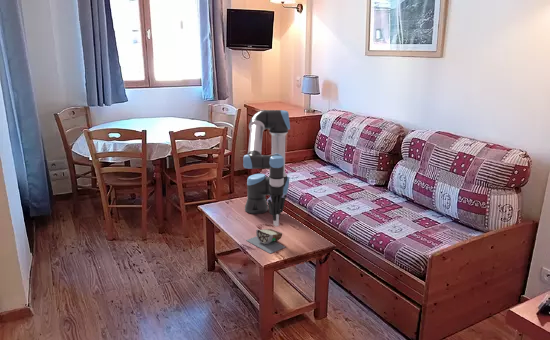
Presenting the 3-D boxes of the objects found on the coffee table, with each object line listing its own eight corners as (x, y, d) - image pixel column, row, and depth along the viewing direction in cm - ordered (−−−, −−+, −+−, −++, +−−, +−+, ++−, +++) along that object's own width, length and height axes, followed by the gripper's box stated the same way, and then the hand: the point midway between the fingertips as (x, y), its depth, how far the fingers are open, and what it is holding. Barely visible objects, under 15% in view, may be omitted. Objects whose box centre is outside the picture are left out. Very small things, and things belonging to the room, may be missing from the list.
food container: (268, 238, 246) (254, 240, 239) (269, 228, 245) (255, 229, 238) (282, 245, 236) (268, 247, 230) (284, 234, 236) (270, 235, 229)
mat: (261, 235, 247) (261, 234, 246) (285, 247, 232) (285, 246, 232) (246, 240, 239) (246, 240, 239) (270, 253, 225) (270, 253, 225)
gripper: (281, 180, 238) (280, 220, 245) (262, 185, 230) (262, 226, 237) (290, 184, 233) (289, 224, 240) (271, 189, 225) (271, 230, 232)
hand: (276, 225), depth 239 cm, fingers closed
